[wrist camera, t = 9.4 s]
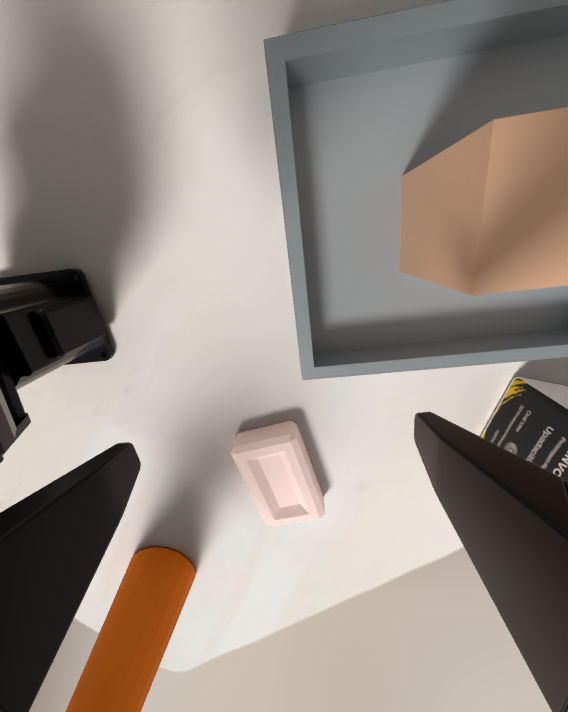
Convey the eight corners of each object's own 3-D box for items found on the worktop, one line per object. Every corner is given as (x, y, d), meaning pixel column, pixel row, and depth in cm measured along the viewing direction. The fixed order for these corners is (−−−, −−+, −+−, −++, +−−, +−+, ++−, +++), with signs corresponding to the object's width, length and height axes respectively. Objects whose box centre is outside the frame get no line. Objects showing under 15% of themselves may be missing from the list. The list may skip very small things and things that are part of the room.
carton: (399, 271, 17) (472, 295, 10) (401, 176, 15) (493, 119, 8) (486, 260, 17) (631, 278, 9) (499, 161, 15) (694, 86, 8)
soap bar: (295, 416, 23) (294, 436, 21) (324, 496, 26) (326, 521, 24) (234, 431, 24) (226, 451, 22) (269, 506, 27) (266, 531, 25)
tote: (302, 361, 21) (302, 380, 18) (270, 77, 15) (263, 39, 12) (573, 335, 19) (620, 352, 16) (664, 0, 13) (764, -66, 10)
